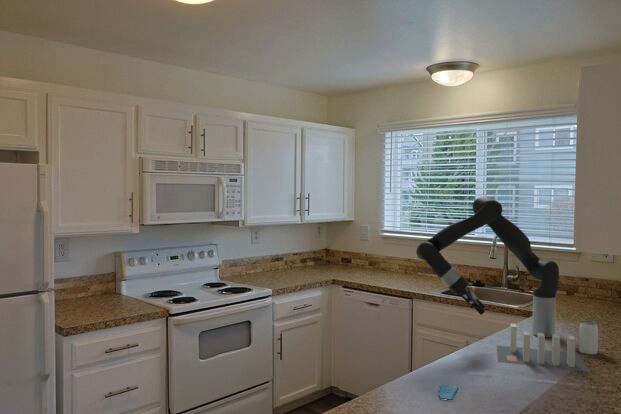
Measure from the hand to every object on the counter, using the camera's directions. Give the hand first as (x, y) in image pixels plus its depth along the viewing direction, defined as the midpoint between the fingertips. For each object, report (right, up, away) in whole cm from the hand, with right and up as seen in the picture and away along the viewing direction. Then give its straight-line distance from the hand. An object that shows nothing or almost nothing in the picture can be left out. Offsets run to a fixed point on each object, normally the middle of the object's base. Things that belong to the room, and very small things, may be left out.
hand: (483, 310), depth 208 cm
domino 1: (+11, -15, -3) cm, 19 cm away
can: (+40, -16, -4) cm, 43 cm away
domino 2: (+11, -15, -15) cm, 24 cm away
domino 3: (+16, -15, -17) cm, 28 cm away
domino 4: (+20, -15, -18) cm, 31 cm away
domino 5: (+25, -16, -20) cm, 36 cm away
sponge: (-27, -17, -46) cm, 56 cm away
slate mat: (+17, -16, -12) cm, 26 cm away
